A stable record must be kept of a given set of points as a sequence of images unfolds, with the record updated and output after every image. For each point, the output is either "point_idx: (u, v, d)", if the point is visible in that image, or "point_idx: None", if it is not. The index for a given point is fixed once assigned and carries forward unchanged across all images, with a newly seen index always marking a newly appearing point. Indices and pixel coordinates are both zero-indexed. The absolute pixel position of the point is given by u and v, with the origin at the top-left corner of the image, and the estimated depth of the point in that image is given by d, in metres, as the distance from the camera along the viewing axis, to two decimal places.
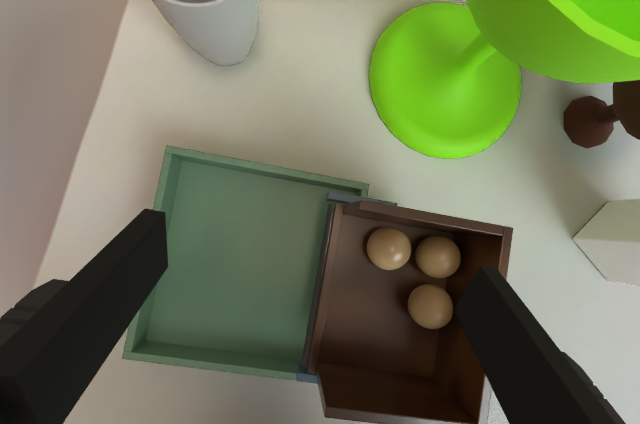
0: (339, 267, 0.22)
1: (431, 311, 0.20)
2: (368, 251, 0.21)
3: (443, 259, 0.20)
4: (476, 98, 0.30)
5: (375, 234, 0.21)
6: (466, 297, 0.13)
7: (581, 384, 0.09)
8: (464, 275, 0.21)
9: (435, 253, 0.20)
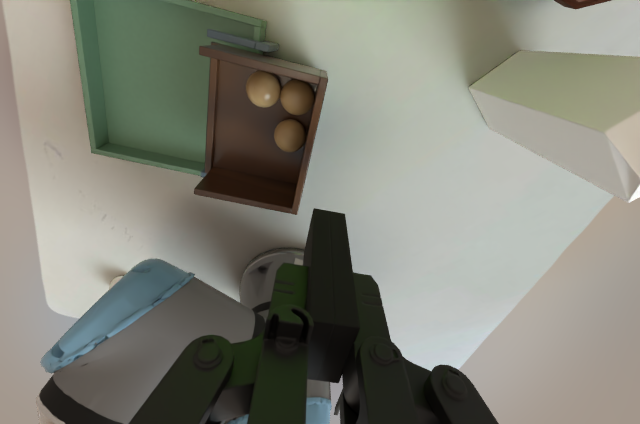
0: (222, 99, 0.28)
1: (285, 140, 0.27)
2: (248, 93, 0.26)
3: (295, 101, 0.26)
4: None
5: (253, 79, 0.25)
6: None
7: (350, 289, 0.10)
8: (311, 114, 0.27)
9: (290, 96, 0.26)
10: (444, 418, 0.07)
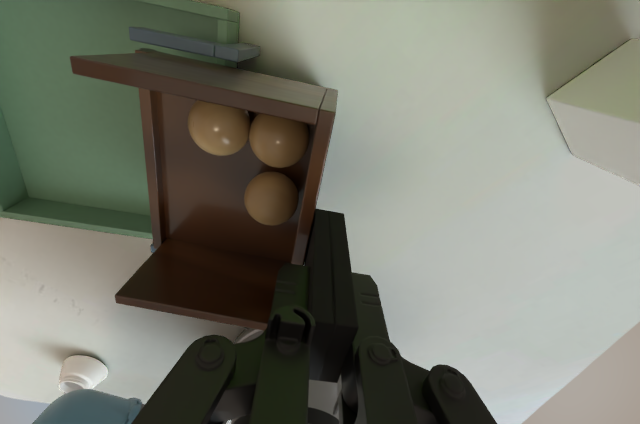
0: (168, 141, 0.17)
1: (254, 209, 0.16)
2: None
3: (266, 146, 0.14)
4: None
5: (193, 108, 0.14)
6: None
7: (348, 288, 0.10)
8: None
9: (257, 136, 0.14)
10: (442, 418, 0.07)
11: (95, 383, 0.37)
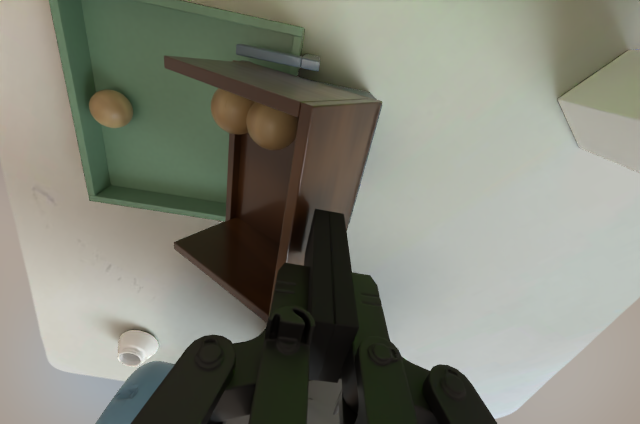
0: (246, 135, 0.21)
1: None
2: None
3: None
4: None
5: None
6: None
7: (349, 288, 0.10)
8: None
9: None
10: (443, 418, 0.07)
11: (149, 355, 0.41)
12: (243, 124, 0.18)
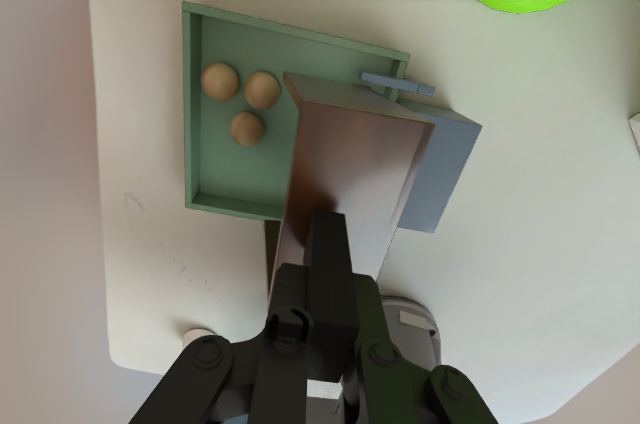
0: None
1: (256, 135, 0.27)
2: None
3: None
4: None
5: None
6: None
7: (350, 289, 0.10)
8: None
9: None
10: (444, 418, 0.07)
11: None
12: (269, 101, 0.25)
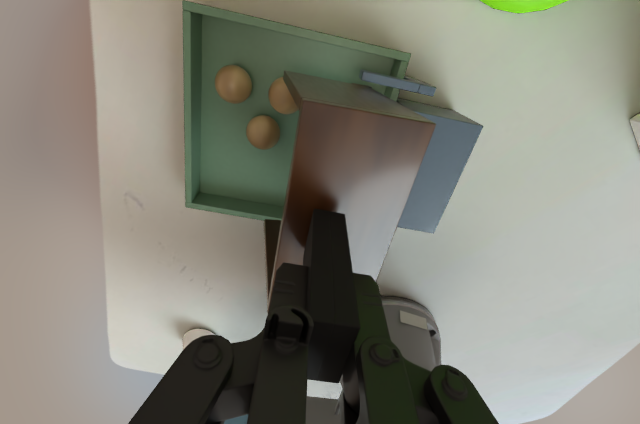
0: None
1: (279, 135, 0.28)
2: None
3: None
4: None
5: None
6: None
7: (350, 289, 0.10)
8: None
9: None
10: (444, 418, 0.07)
11: None
12: None
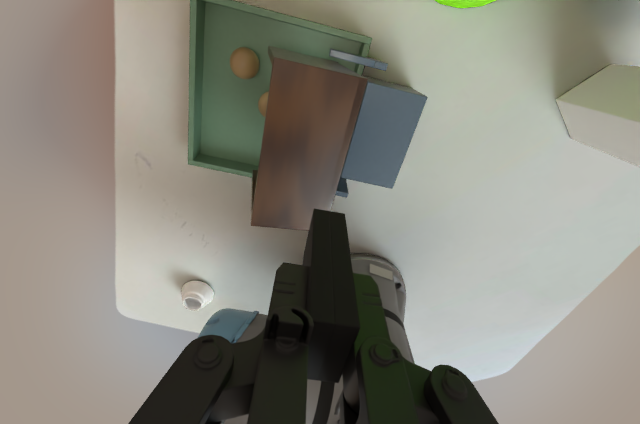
0: None
1: None
2: None
3: (231, 62, 0.31)
4: None
5: None
6: None
7: (350, 289, 0.10)
8: None
9: (230, 58, 0.31)
10: (444, 418, 0.07)
11: (207, 302, 0.49)
12: None
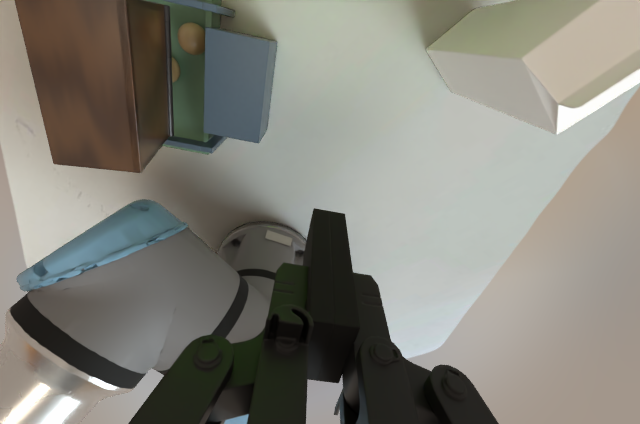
0: None
1: None
2: None
3: None
4: None
5: None
6: None
7: (350, 289, 0.10)
8: None
9: None
10: (444, 418, 0.07)
11: None
12: (192, 45, 0.31)
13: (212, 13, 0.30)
